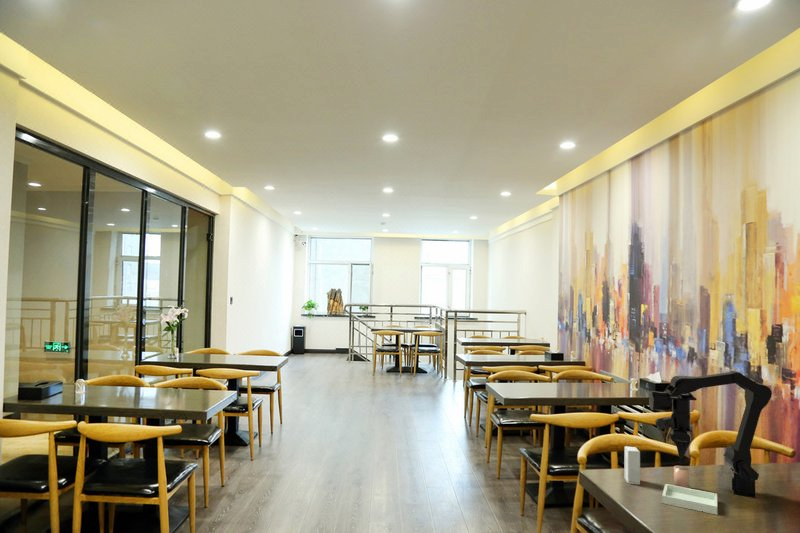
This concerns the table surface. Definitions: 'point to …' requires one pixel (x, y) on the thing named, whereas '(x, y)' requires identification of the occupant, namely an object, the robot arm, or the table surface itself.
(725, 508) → the table surface
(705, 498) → the tray
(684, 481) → the cup
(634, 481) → the skincare box
